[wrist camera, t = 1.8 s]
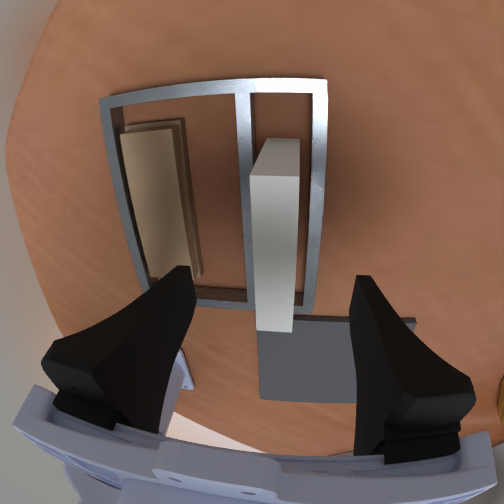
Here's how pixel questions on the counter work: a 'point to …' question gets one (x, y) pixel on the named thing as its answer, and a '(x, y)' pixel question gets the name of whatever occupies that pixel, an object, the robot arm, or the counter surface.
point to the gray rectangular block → (275, 232)
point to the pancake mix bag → (501, 403)
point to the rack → (247, 160)
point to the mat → (310, 361)
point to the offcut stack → (162, 194)
